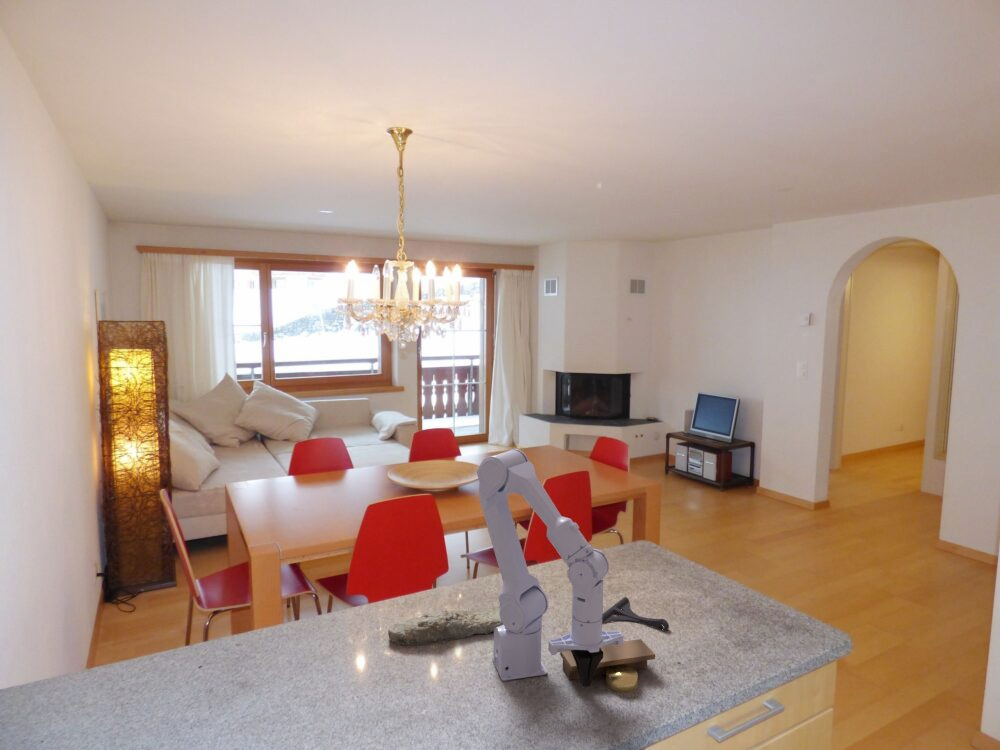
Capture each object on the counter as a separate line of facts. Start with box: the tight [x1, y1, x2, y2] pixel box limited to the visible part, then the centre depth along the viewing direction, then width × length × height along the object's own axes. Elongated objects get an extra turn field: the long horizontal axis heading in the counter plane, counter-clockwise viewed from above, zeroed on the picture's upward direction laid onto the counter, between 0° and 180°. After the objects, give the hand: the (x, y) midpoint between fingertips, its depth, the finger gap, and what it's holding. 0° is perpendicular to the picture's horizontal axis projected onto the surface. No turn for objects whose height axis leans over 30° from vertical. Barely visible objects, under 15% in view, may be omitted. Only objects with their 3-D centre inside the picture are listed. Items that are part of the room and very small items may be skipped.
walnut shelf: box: [559, 638, 656, 680], centre depth 124 cm, size 18×6×4 cm, turn 105°
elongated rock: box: [387, 606, 503, 646], centre depth 140 cm, size 35×5×10 cm
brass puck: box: [605, 664, 639, 694], centre depth 120 cm, size 6×6×2 cm
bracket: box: [602, 596, 670, 632], centre depth 145 cm, size 14×15×3 cm
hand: (584, 683), depth 118 cm, fingers closed
